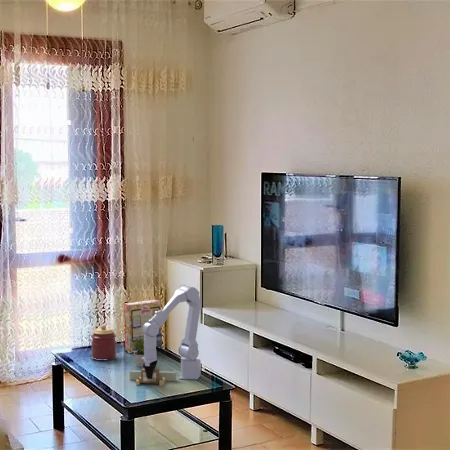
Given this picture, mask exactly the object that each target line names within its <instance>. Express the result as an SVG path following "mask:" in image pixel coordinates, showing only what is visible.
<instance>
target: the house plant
mask: <svg viewBox="0 0 450 450" xmlns="http://www.w3.org/2000/svg"><path fill="white" fill-rule="evenodd" d="M135 337H136V336H135ZM130 338H131V337H130ZM130 338H129V339H130ZM130 340H132V339H130ZM136 340H137V342H135V341H133V340H132V342H133V343H134V344H132V345H134V346H135V347H136V349H137V350H138V351H137V350H136V349H135V348H134V350H136V351H137V352H135V353H133V358H134V359H133V360H134V364H135V367H138V368H139V367H142V368H143V364H144V363H145V361H144V360H142V357H144V336H143V338H142V340H141V334H140V337H139V340H138V338H137V337H136ZM135 343H136V344H137V345H136V344H135ZM131 348H133V347H130V349H131ZM131 350H132V349H131Z"/></svg>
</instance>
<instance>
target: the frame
mask: <svg viewBox="0 0 450 450" xmlns="http://www.w3.org/2000/svg"><path fill="white" fill-rule="evenodd" d="M140 371H141V383H140V384H160V381H159V371H160V368H155V369H154V370H153V376H152V379H147V375H146V371H145V369H144V368H141V370H140Z"/></svg>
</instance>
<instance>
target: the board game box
mask: <svg viewBox="0 0 450 450" xmlns="http://www.w3.org/2000/svg"><path fill="white" fill-rule="evenodd" d="M123 305H124V306H123V307H124V310H123V311H124V314H123V315H124V317H123V318H124V350H125V349H126V350H128V351H129V352H132V351H136V350H137V349H136V347H135V346H134V345H132V344H134V343H133V342H132V340H133V341H135V342H137V340H136V337H137V338H138V340H139V337H140V334H141V340H142V338H143V336H144V333H143V332H142V328H143V325H144V324H145V323H147V322H149V320H151V318H152V317H153V316H154V315H155V312H156V311H158V310H162V300H159V299H151V300H142V301H136V302H135V301H133V302H126V303H124V304H123ZM135 336H136V337H135ZM162 336H163V335H162V326H161V327H160V328H159V332H158V334H157V335H156V346H157V347H160V348H159V349H163V345H162V344H163V342H162V341H163V340H162V339H163V338H162ZM130 337H131V338H130ZM129 338H130V339H132V340H130V339H129ZM135 344H136V343H135ZM136 345H137V344H136ZM130 347H133V348H131V349H132V350H131V349H130ZM134 348H135V349H136V350H134Z"/></svg>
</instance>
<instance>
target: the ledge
mask: <svg viewBox="0 0 450 450" xmlns="http://www.w3.org/2000/svg"><path fill="white" fill-rule="evenodd" d="M129 380H130V381H133V380H134V381H135V385H136V386H140V385H141V384H142V383H141V370H129ZM166 381H167V382H176V381H177V371H161V370H159V386H164V385H165V383H166Z"/></svg>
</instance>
